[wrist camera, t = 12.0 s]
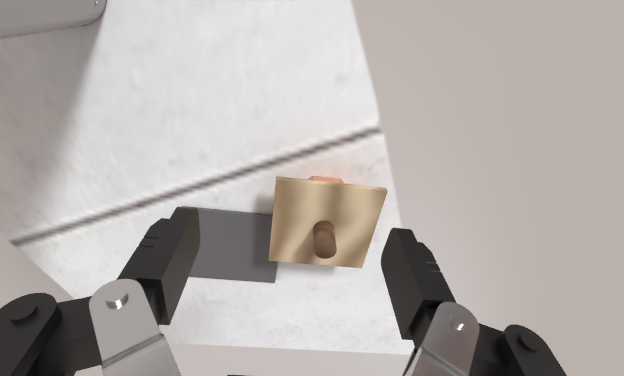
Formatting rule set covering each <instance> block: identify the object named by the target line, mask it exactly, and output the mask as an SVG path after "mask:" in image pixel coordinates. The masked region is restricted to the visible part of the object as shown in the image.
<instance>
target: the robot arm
mask: <svg viewBox="0 0 624 376" xmlns="http://www.w3.org/2000/svg"><path fill="white" fill-rule="evenodd" d="M105 5H106V0H0V39H5V38H11V37H17V36H23V35H29V34H35V33H41V32H47V31H53V30H60V29H66V28H72V27H78V26H84V25H87V24H90V23H92V22H94V21H95V20H96V19H98V18H99V16H100V15H101V14H102V12H103V10H104V7H105ZM199 247H200V225H199V212H198V209H197V208H186V207H177V208H176V209H175V211H174V213H173V214H172V216H171V218H170V219H164V218H161V219H160V220H159V221H157V222H156V223H154V224H153V225H152V226H150V228H149V230H148V231H147V233H146V234H145V236H144V239H142V241H141V242H140V244H139V247H137V248H136V250H135V252H134V253H133V255H132V256H131V258H130V259H129V261H128V263H127V264H126V266H125V267H124V269H123V270H122V272H121V274H120V275H119V277H118V278H117V280H115V281H112V282H109V283H107V284H105V285H103V286H102V287H100V288H99V289H98V290H97V291H96V292H95V293H94V294H93V296H90V297H86V298H81V299H76V300H71V301H65V302H60V303H57V302H56V300H55V298H54V297H53V296H51V295H49V294H46V293H34V294H28V295H25V296H22V297H19V298H17V299H15V300H13V301H11V302H9V303H8V304H7V305H5V306H3V307H2V308H1V309H0V376H74V374H75V372H76V371H78V370H82V369H86V368H90V367H94V366H97V365H101V364H102V372H103V376H181V374H180V372H179V369H178V367H177V364H176V362H175V360H174V357H173V355H172V353H171V350H170V348H169V345H168V343H167V341H166V338H165V336H164V335H163V334H161V332H160V330H159V327H158V326H159V325H170V322H171V320H172V317H173V315H174V312H175V310H176V307H177V305H178V302H179V299H180V297H181V294H182V292H183V289H184V287H185V284H186V282H187V279H188V277H189V274H190V272H191V269H192V266H193V264H194V261H195V259H196V256H197V254H198V251H199ZM381 267H382V271H383V274H384V278H385V281H386V285H387V288H388V292H389V295H390V299H391V302H392V306H393V309H394V313H395V316H396V320H397V323H398V327H399V330H400V334H401V337H402V339H405V340H413V342H414V345H415V347H414V349H413V351H412V353H411V355H410V357H409V360H408V362H407V364H406V367H405V369H404V371H403V373H402V375H401V376H566V374H565V372H564V371H563V369H562V367H561V366H560V364H559V363H558V361H557V360H556V358H555V357H554V355H553V353H552V352H551V350H550V349H549V347H548V345H547V344H546V343H545V342H544V341H543V339H542V338H540V337H539V336H538V335H537V334H536V333H534V332H533V331H532V330H530V329H528V328H526V327H524V326H520V325H510V326H508V327H507V328H506V329H505V330H504V331H503V332H502V331H499V330H496V329H494V328H491V327H488V326H485V325H482V324H480V323H478V322H477V320H476V318H475V317H474V315H473V314H472V313H471V312H470V311H469V310H468V309H466V308H465V307H463V306H462V305H459V304H457V303H456V301H455V299H454V297H453V295H452V293H451V291H450V289H449V287H448V285H447V283H446V281H445V279H444V277H443V275H442V273H441V272H440V268H439V266H438V264H436V260H435V258H434V256H433V254H432V252H431V251H430V250H429V249H428V248H427V247H426V246H425V245H424V244H423V243H420V242H417V240H416V238H415V236H414V234H413V232H412V230H410V229H401V228H392V229H391V231H390V234H389V236H388V239H387V242H386V244H385V247H384V250H383V252H382V256H381ZM228 376H243V375H228Z"/></svg>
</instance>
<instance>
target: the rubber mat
mask: <svg viewBox="0 0 624 376" xmlns="http://www.w3.org/2000/svg"><path fill="white" fill-rule="evenodd" d="M182 207H184V206H182ZM186 208H195V207H186ZM197 209H198V212H199V225H200V247H199V251H198V254H197V256H196V259H195V261H194V264H193V266H192V269H191V272H190V274H189V277H202V278H215V279H229V280H243V281H257V282H270V283H275V277H276V269H277V261H269V250H270V239H271V229H272V218H273V215H268V214H258V213H247V212H237V211H226V210H216V209H205V208H197Z"/></svg>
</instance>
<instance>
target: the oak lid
mask: <svg viewBox="0 0 624 376" xmlns="http://www.w3.org/2000/svg"><path fill="white" fill-rule="evenodd" d="M386 194H387V189H386V188H380V187H370V186H361V185H352V184H343V183H333V182H324V181H315V180H306V179H296V178H287V177H278V176H276V186H275V196H274V207H273V218H272V229H271V239H270V250H269V261H278V262H291V263H303V264H316V265H328V266H341V267H354V268H362V266H363V263H364V260H365V257H366V254H367V251H368V248H369V245H370V242H371V239H372V236H373V233H374V230H375V227H376V224H377V221H378V218H379V215H380V212H381V209H382V206H383V203H384V200H385V197H386Z"/></svg>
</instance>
